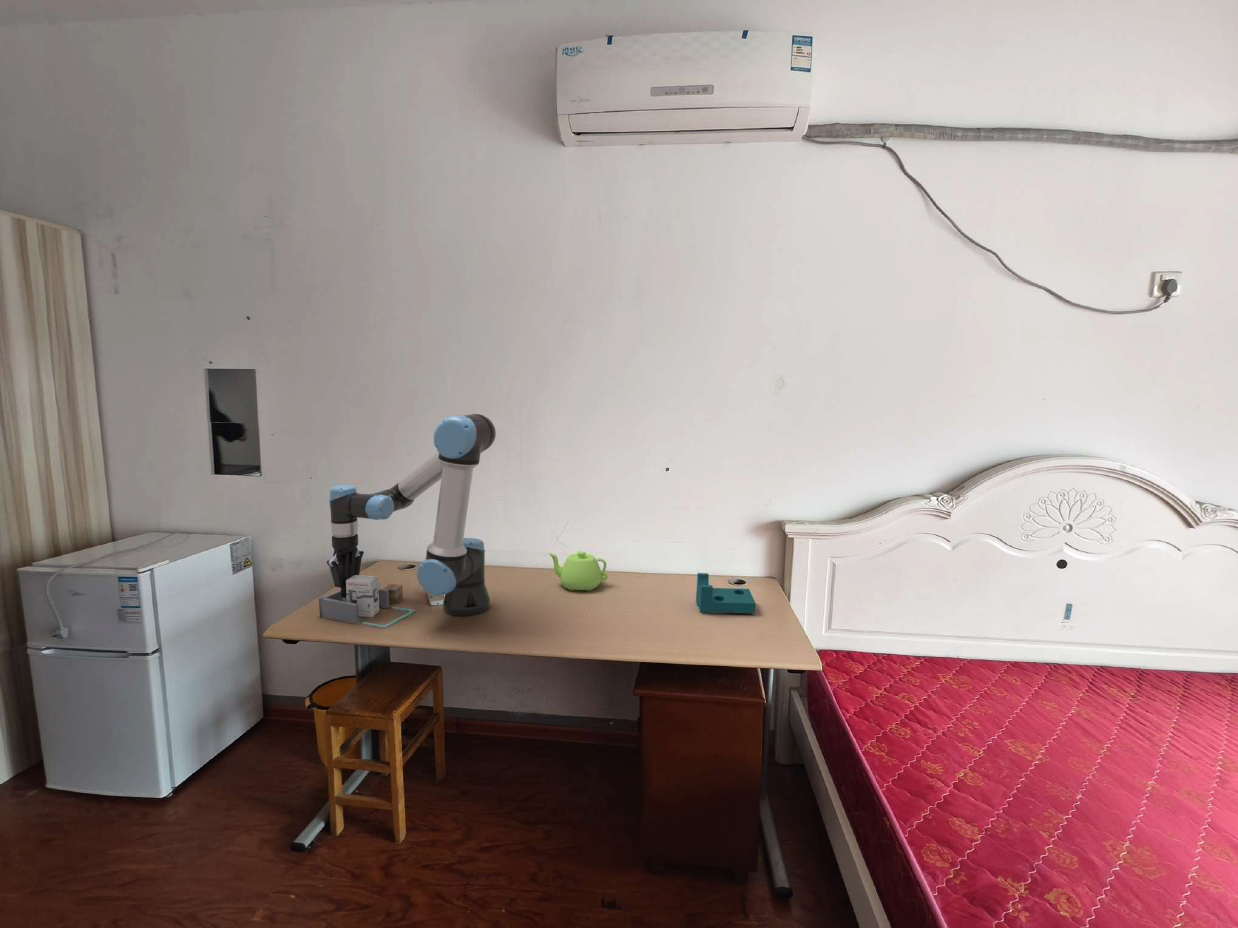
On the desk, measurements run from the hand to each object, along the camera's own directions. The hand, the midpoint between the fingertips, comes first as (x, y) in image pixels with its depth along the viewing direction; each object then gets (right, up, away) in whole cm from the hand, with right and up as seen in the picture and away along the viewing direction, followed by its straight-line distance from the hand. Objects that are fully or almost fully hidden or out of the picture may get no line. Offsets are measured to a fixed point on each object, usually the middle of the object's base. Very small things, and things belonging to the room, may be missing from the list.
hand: (347, 605), depth 183 cm
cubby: (+3, -2, -1) cm, 4 cm away
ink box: (+6, -2, -2) cm, 6 cm away
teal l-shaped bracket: (+123, -4, +10) cm, 123 cm away
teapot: (+72, 0, +27) cm, 77 cm away
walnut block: (+11, -1, +9) cm, 14 cm away
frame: (+15, -3, -4) cm, 16 cm away
